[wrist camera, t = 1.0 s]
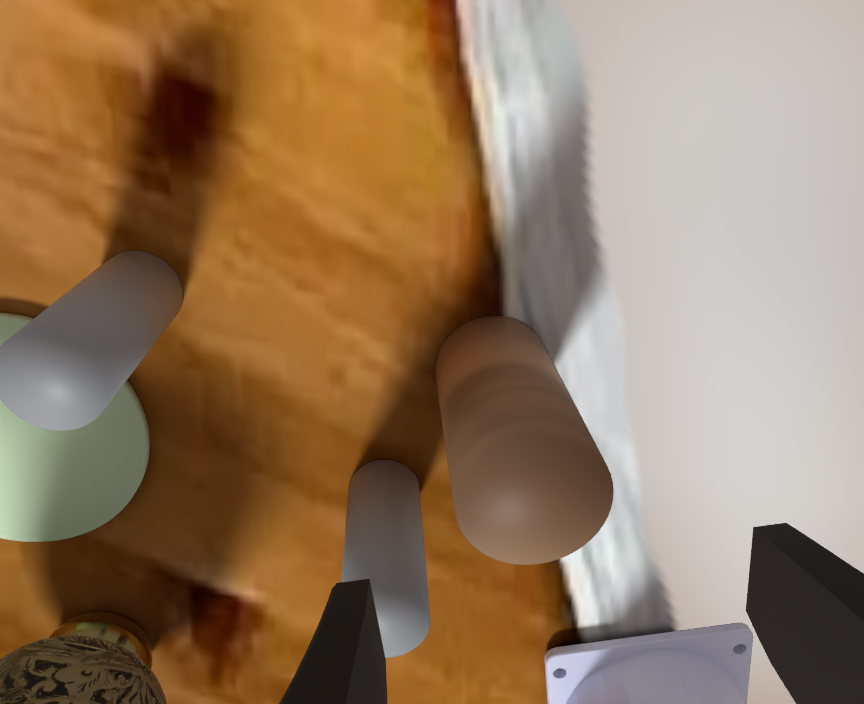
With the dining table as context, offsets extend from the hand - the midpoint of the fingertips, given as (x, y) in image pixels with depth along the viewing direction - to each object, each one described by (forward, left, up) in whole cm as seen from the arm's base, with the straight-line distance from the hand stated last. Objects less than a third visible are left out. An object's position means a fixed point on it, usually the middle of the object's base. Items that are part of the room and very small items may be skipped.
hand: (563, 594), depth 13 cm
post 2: (-4, +4, -10) cm, 11 cm away
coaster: (0, +15, -10) cm, 18 cm away
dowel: (0, 0, -10) cm, 10 cm away
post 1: (+4, +10, -10) cm, 15 cm away
